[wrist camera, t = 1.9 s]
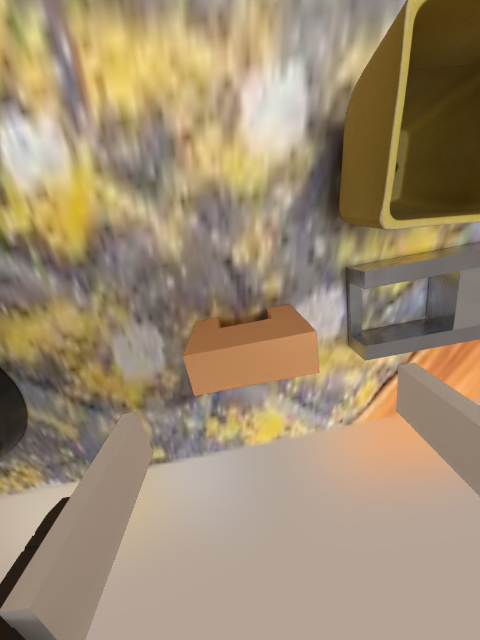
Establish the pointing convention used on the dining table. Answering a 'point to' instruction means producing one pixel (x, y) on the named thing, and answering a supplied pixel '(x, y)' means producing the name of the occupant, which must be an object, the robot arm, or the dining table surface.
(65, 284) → the dining table surface
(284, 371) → the brown notched block
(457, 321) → the rail
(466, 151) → the flower pot
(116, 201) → the dining table surface
